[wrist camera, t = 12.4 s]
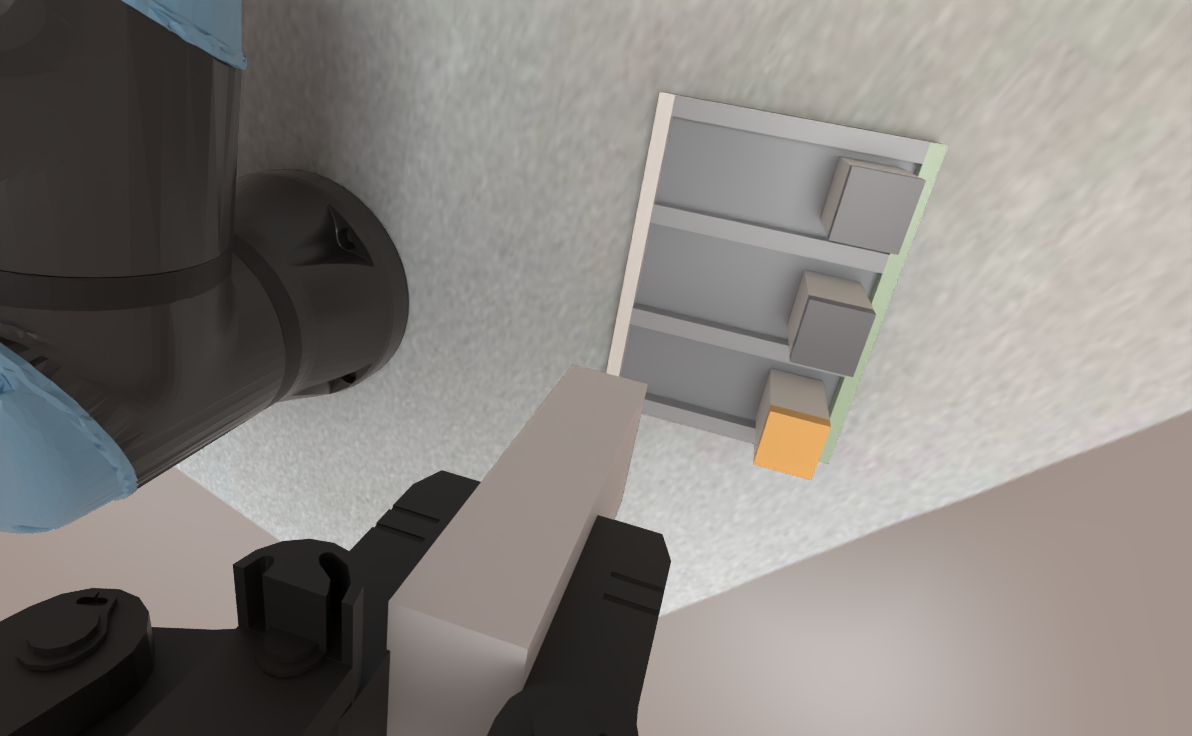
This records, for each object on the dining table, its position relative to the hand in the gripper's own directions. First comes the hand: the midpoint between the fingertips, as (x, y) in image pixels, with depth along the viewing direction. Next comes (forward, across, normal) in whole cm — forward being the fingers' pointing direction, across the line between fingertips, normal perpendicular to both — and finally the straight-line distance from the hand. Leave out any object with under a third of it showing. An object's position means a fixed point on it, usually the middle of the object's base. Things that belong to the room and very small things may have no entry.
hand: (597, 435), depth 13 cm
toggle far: (+25, +7, -9) cm, 28 cm away
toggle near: (+25, +7, +3) cm, 26 cm away
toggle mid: (+25, +7, -3) cm, 26 cm away
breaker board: (+26, +3, -3) cm, 27 cm away
